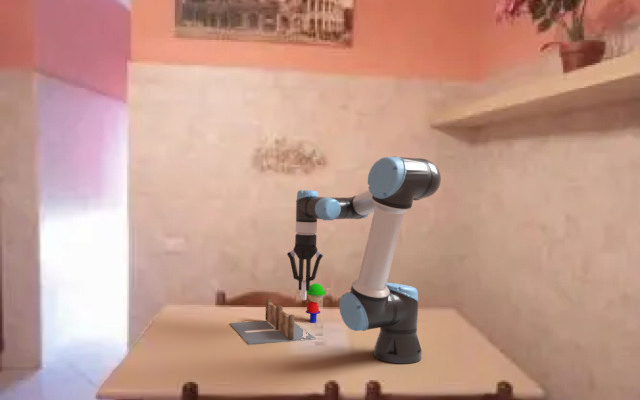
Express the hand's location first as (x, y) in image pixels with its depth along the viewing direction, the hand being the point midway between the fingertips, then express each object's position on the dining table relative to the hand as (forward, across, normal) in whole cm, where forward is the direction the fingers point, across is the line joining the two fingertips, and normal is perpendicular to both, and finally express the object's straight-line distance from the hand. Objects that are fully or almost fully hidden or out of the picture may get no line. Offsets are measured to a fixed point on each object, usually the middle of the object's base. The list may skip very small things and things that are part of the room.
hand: (303, 299), depth 204 cm
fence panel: (+12, +6, +3) cm, 14 cm away
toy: (+13, -2, -20) cm, 25 cm away
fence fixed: (+13, +13, -9) cm, 21 cm away
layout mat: (+13, +12, -2) cm, 18 cm away
